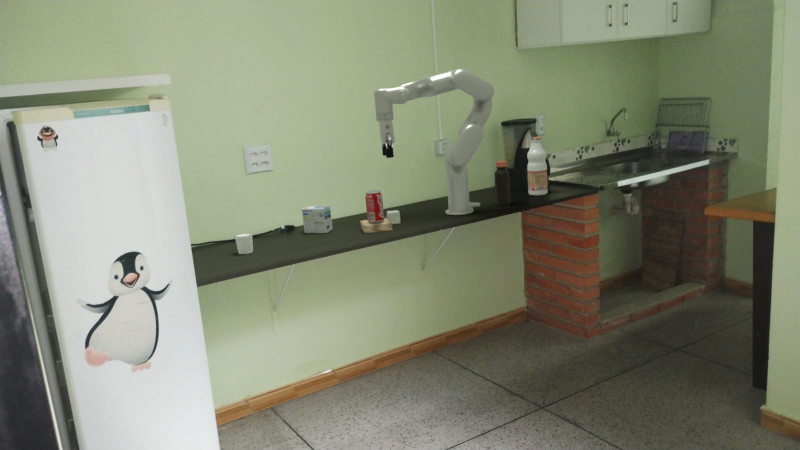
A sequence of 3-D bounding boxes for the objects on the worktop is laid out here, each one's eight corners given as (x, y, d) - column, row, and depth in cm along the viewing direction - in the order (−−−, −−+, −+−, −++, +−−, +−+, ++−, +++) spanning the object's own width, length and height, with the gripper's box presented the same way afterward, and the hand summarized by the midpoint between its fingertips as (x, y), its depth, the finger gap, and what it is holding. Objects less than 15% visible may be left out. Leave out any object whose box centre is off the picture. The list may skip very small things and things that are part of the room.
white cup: (238, 250, 272) (235, 233, 271) (255, 249, 273) (253, 232, 271) (235, 255, 265) (233, 237, 264) (253, 253, 266) (251, 236, 264)
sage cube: (398, 221, 303) (397, 210, 302) (400, 223, 298) (399, 212, 297) (387, 222, 302) (386, 211, 301) (389, 224, 297) (388, 213, 296)
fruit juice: (524, 194, 338) (522, 138, 332) (535, 191, 344) (533, 135, 338) (540, 196, 331) (538, 138, 325) (551, 192, 338) (549, 136, 332)
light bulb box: (333, 229, 296) (330, 205, 294) (326, 233, 290) (323, 208, 288) (310, 229, 300) (308, 205, 297) (303, 233, 294) (301, 208, 291)
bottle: (511, 205, 316) (509, 162, 312) (496, 206, 317) (494, 163, 312) (509, 202, 323) (507, 160, 319) (495, 203, 323) (492, 161, 319)
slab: (387, 224, 298) (387, 217, 297) (392, 230, 286) (391, 223, 285) (360, 227, 296) (359, 220, 295) (364, 233, 284) (363, 226, 283)
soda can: (382, 223, 286) (379, 193, 283) (365, 224, 287) (362, 193, 284) (386, 219, 292) (383, 189, 290) (370, 220, 294) (367, 190, 291)
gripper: (396, 117, 289) (400, 157, 293) (390, 115, 306) (393, 153, 310) (379, 119, 288) (382, 159, 292) (373, 117, 305) (376, 155, 308)
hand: (388, 156), depth 301 cm, fingers open, 9 cm apart
